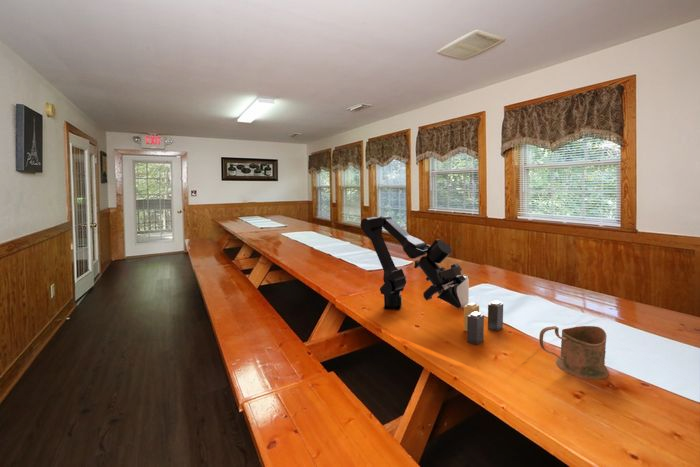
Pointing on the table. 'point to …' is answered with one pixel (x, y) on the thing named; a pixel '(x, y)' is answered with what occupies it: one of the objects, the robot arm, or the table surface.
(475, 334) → the grey columns
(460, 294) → the can
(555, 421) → the table surface
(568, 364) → the mug
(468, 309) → the tan faceted column
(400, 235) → the robot arm
